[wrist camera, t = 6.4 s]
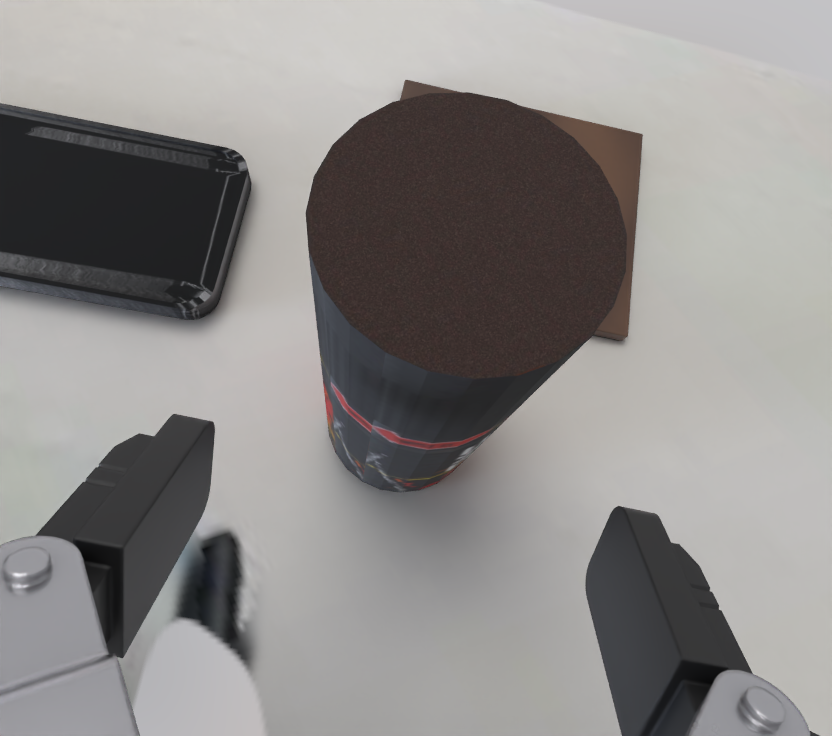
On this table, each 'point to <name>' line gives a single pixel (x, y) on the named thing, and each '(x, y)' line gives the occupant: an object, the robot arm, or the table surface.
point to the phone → (116, 213)
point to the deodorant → (452, 276)
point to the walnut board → (622, 171)
